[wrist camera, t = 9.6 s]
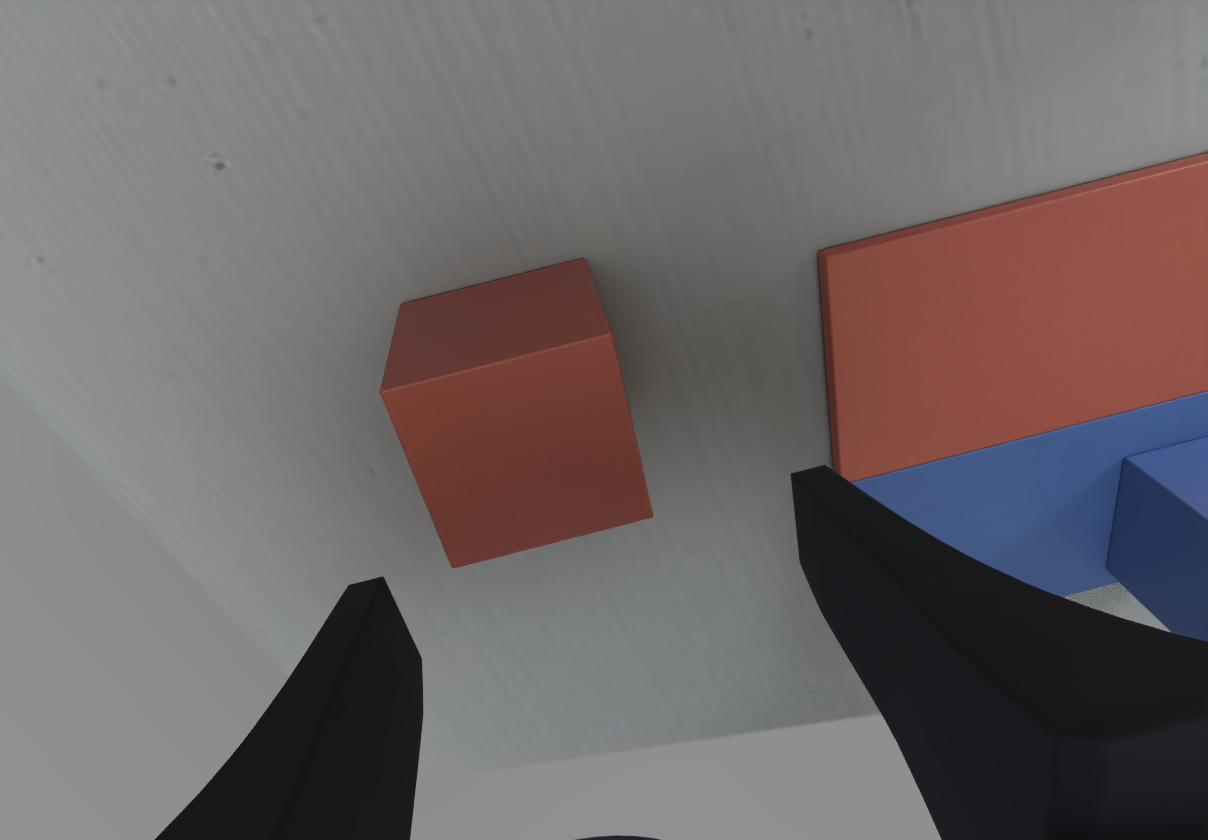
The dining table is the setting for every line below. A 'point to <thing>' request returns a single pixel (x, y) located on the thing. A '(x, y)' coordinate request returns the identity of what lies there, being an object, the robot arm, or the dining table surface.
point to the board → (1022, 365)
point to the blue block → (1165, 535)
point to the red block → (515, 413)
